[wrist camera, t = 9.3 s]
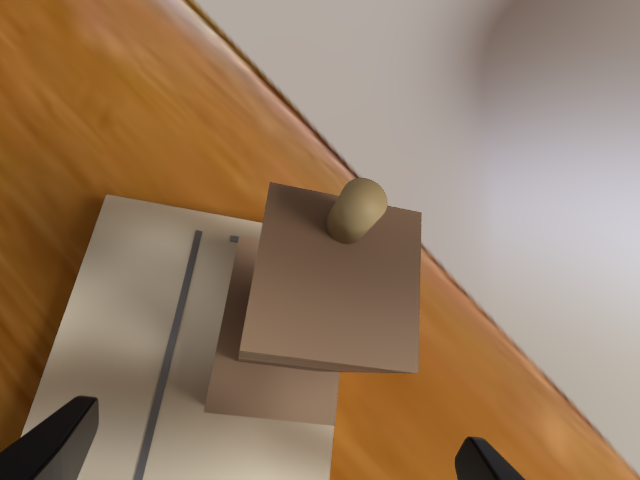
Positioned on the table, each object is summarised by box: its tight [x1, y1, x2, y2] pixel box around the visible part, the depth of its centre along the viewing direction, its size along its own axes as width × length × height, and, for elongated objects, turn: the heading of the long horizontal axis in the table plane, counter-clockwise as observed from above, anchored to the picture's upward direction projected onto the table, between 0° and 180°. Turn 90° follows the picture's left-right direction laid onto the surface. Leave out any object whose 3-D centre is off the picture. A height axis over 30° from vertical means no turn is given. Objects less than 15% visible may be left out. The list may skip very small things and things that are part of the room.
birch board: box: [21, 194, 334, 480], centre depth 16 cm, size 18×12×2 cm, turn 173°
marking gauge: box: [204, 178, 421, 426], centre depth 12 cm, size 7×5×12 cm
